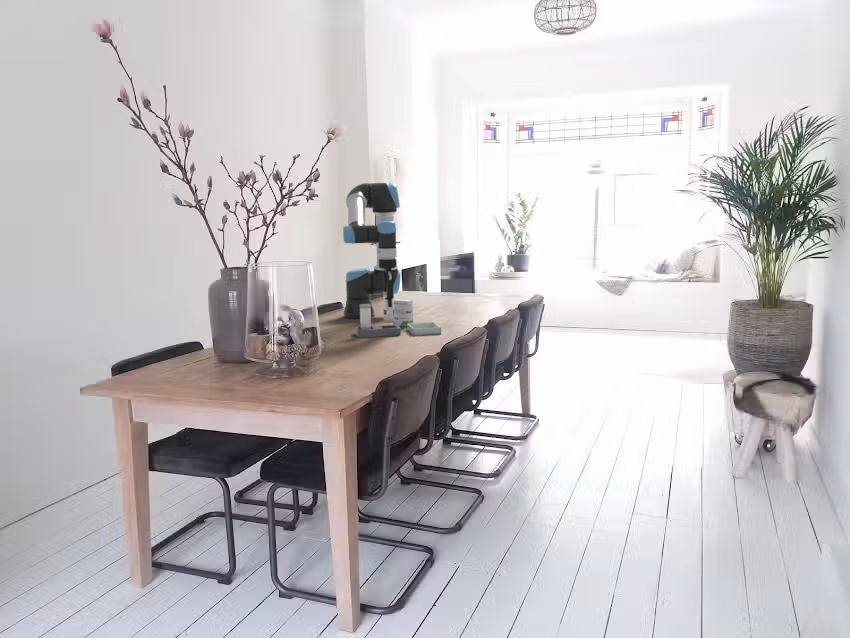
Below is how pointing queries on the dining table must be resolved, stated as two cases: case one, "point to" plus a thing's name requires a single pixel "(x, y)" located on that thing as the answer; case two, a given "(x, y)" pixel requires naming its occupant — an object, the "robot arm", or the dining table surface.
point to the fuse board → (378, 331)
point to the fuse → (365, 316)
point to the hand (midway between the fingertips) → (388, 313)
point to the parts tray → (423, 328)
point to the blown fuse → (386, 317)
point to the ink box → (403, 312)
